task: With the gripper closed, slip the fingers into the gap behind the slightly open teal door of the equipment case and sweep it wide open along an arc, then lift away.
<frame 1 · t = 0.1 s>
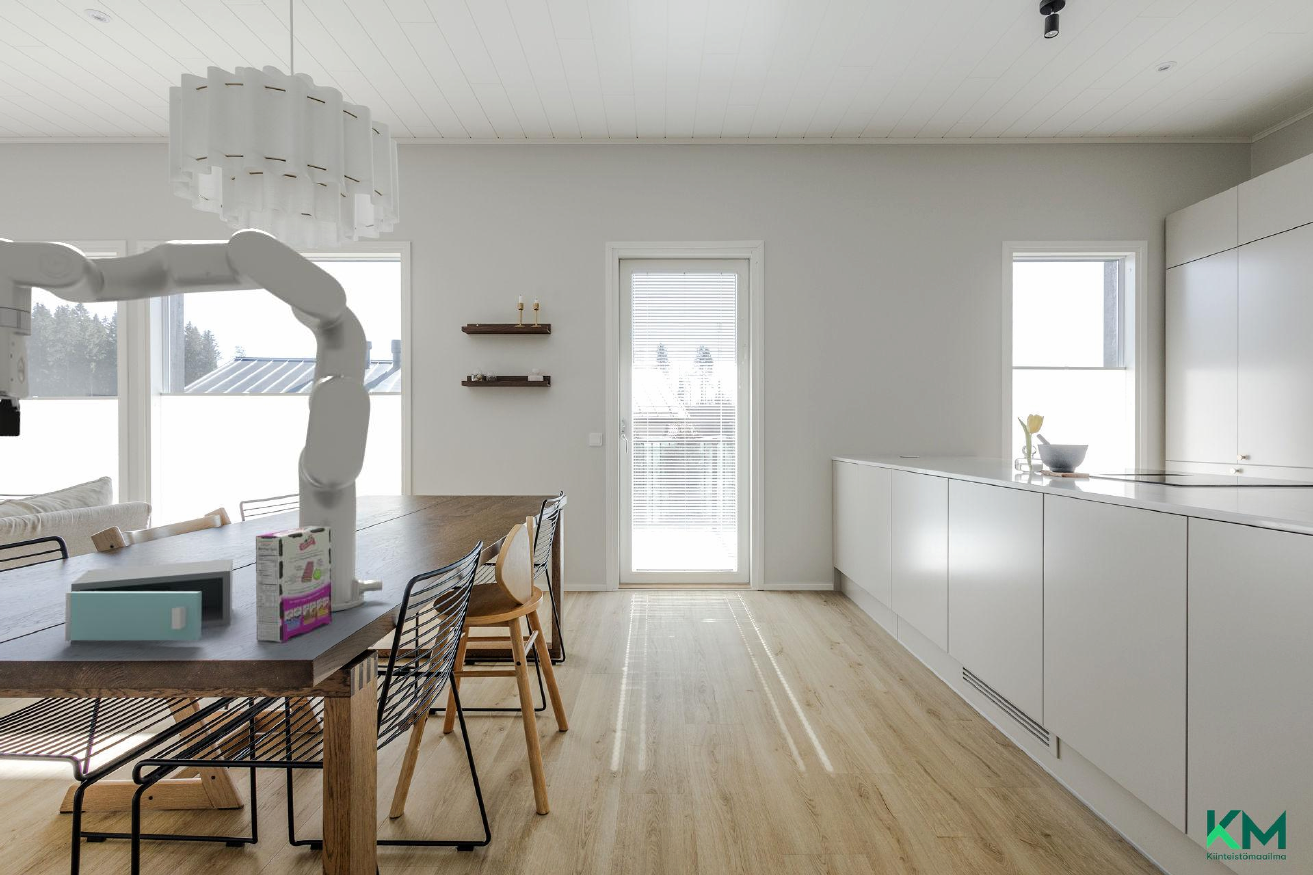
equipment case: (159, 624, 108), on the table
side door: (130, 616, 96), point 4 cm above the table, hinge at 30.0°
candy bar box: (294, 633, 104), on the table
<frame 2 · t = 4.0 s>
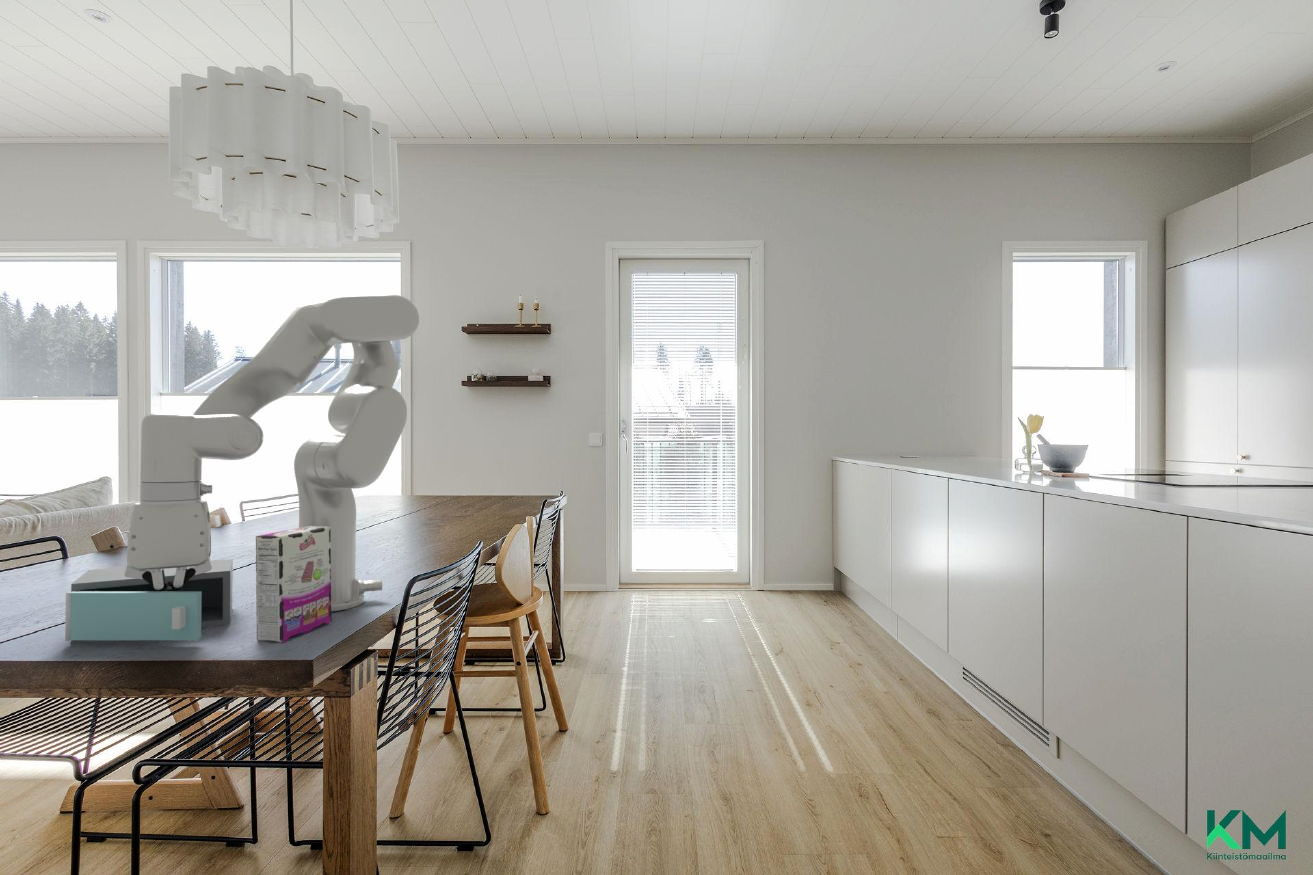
hand: (169, 612, 99), 4 cm above the table, tool pointing down, fingers closed
side door: (130, 616, 96), point 4 cm above the table, hinge at 30.0°, touching gripper
everything else where it was.
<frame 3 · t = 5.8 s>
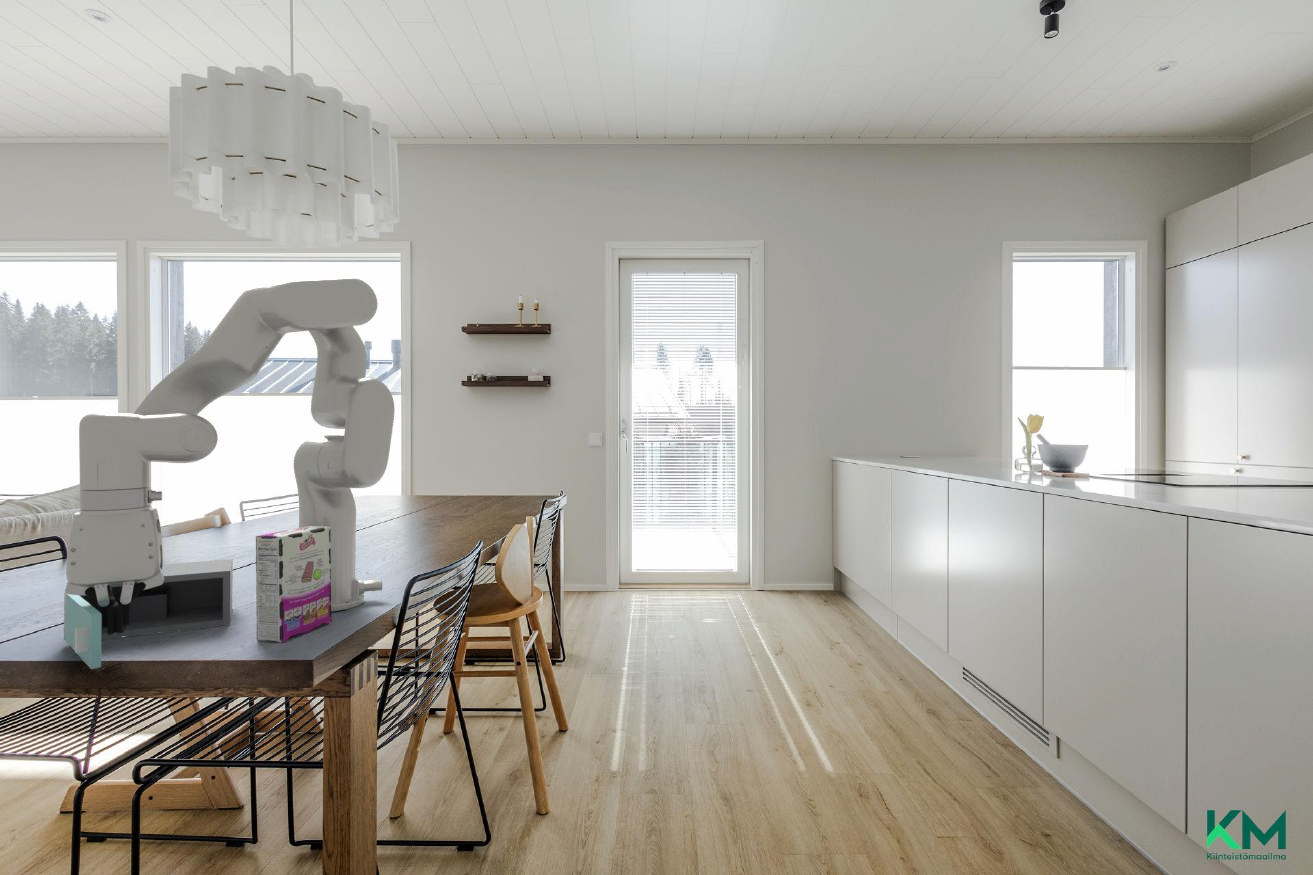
hand: (117, 631, 91), 4 cm above the table, tool pointing down, fingers closed
side door: (76, 627, 90), point 4 cm above the table, hinge at 71.5°, touching gripper
everything else where it was.
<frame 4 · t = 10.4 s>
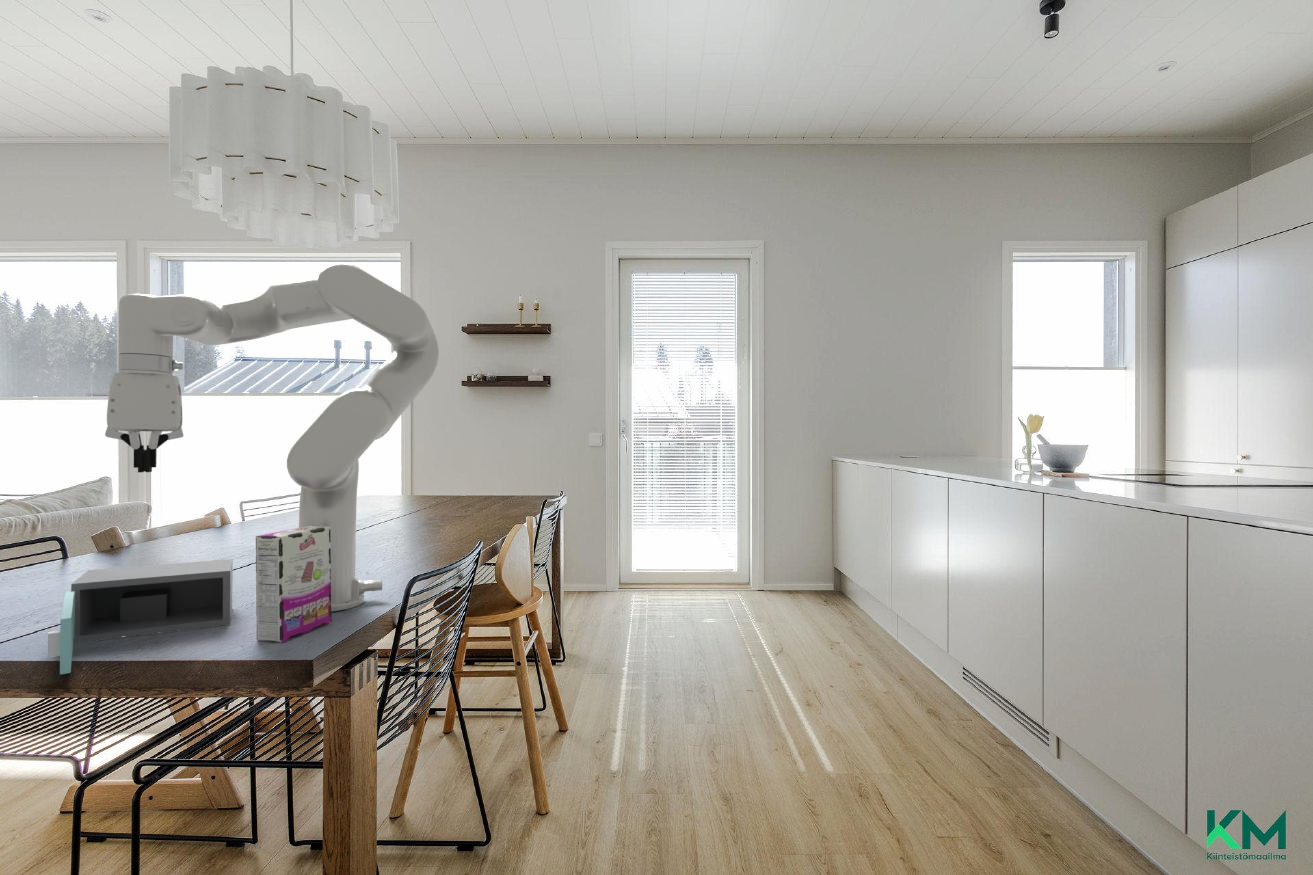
hand: (145, 471, 113), 25 cm above the table, tool pointing down, fingers closed
side door: (62, 629, 89), point 4 cm above the table, hinge at 80.5°
everything else where it was.
at the end: side door at +80° (first picture: +30°); candy bar box moved 0.2 cm from its start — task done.
